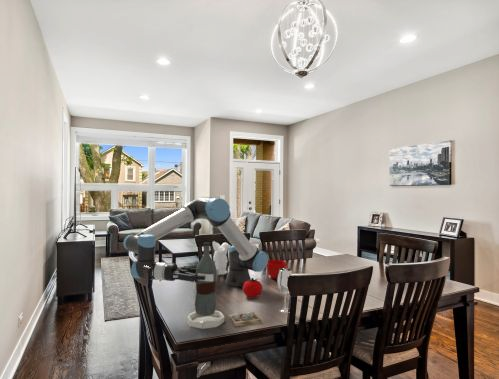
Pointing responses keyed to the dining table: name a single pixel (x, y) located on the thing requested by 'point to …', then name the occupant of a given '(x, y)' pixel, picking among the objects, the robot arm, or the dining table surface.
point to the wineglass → (283, 285)
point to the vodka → (206, 285)
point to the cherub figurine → (220, 257)
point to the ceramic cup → (275, 267)
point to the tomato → (252, 288)
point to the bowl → (205, 320)
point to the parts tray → (247, 322)
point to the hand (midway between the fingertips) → (216, 274)
